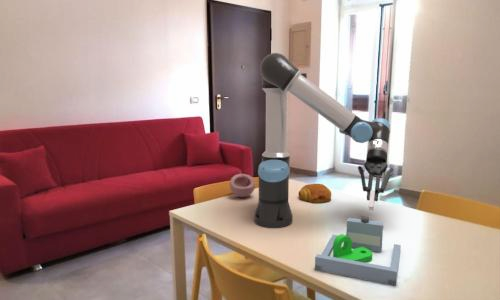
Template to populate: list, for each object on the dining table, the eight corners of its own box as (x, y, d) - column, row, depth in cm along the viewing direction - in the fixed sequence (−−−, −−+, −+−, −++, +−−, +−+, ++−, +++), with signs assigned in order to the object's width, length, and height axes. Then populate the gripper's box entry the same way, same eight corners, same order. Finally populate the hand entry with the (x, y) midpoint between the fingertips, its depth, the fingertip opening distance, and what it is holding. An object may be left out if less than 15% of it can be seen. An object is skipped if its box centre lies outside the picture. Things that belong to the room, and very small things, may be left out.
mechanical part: (345, 269, 109) (346, 243, 108) (332, 260, 114) (333, 235, 113) (376, 260, 114) (377, 235, 113) (362, 252, 119) (363, 228, 118)
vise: (314, 269, 108) (315, 256, 108) (332, 238, 130) (332, 227, 129) (395, 285, 99) (396, 271, 99) (400, 249, 121) (401, 237, 120)
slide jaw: (345, 246, 123) (347, 216, 121) (347, 243, 126) (348, 213, 124) (381, 252, 119) (382, 220, 117) (381, 248, 121) (383, 217, 119)
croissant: (297, 199, 181) (294, 183, 180) (328, 193, 182) (326, 178, 181) (304, 208, 167) (301, 191, 166) (337, 202, 168) (335, 185, 167)
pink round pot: (232, 201, 172) (231, 177, 170) (228, 194, 183) (227, 171, 181) (257, 199, 174) (257, 175, 172) (252, 192, 186) (251, 170, 184)
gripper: (359, 147, 144) (351, 201, 132) (395, 149, 139) (390, 205, 127) (360, 158, 150) (353, 210, 137) (395, 160, 144) (390, 215, 132)
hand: (371, 208), depth 132 cm, fingers closed
